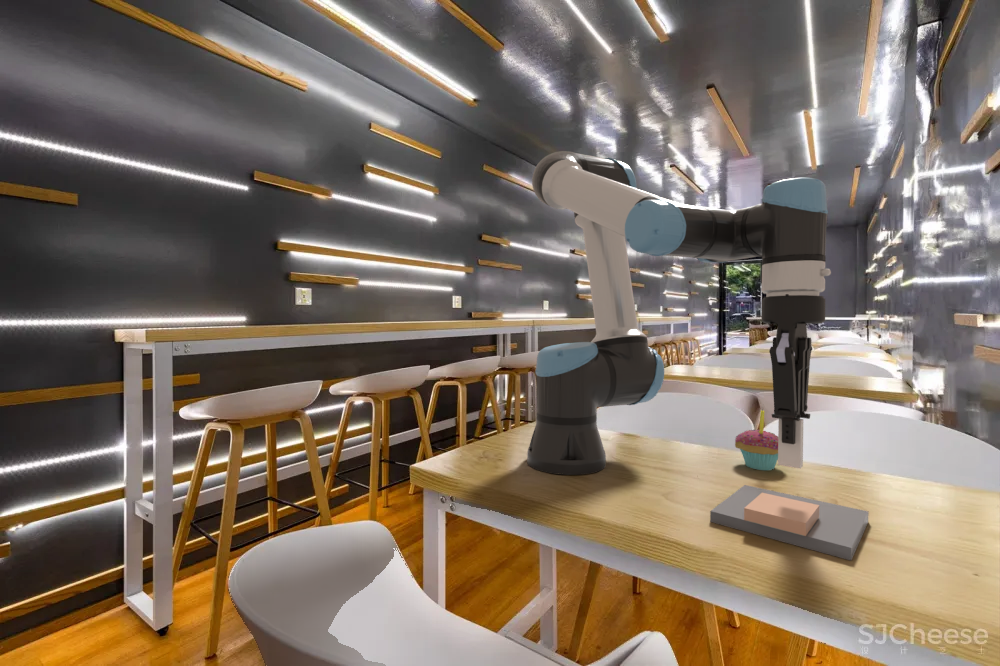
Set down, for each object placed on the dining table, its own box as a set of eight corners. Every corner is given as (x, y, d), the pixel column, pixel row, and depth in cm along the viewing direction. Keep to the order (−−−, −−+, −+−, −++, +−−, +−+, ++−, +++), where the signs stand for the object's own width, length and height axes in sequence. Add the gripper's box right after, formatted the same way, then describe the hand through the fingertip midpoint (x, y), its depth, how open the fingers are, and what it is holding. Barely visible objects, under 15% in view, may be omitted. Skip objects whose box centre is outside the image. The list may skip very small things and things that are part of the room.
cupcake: (792, 475, 88) (792, 409, 88) (741, 472, 90) (742, 408, 89) (775, 462, 96) (776, 402, 96) (729, 459, 98) (729, 400, 98)
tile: (761, 504, 70) (744, 521, 64) (761, 492, 70) (744, 508, 64) (819, 518, 65) (805, 537, 59) (819, 505, 65) (805, 523, 59)
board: (710, 521, 67) (710, 511, 67) (744, 494, 78) (744, 484, 78) (851, 560, 56) (851, 547, 56) (868, 522, 67) (868, 511, 67)
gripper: (814, 291, 59) (812, 482, 60) (833, 296, 69) (831, 460, 70) (748, 294, 65) (746, 470, 65) (774, 297, 74) (772, 451, 75)
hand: (790, 465), depth 67 cm, fingers closed
